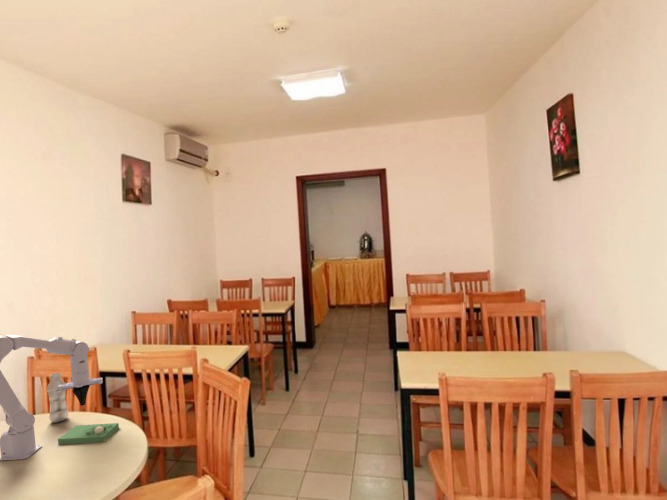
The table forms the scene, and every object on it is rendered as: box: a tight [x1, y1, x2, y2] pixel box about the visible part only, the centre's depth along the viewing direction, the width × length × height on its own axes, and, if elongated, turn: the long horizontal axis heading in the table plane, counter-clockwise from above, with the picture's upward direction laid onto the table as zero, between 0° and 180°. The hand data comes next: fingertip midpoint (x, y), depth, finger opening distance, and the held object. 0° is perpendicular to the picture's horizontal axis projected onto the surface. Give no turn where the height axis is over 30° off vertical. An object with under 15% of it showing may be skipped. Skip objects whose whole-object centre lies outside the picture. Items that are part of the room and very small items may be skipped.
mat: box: [57, 422, 120, 445], centre depth 148 cm, size 17×10×2 cm, turn 90°
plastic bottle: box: [46, 372, 69, 424], centre depth 162 cm, size 6×7×20 cm
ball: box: [94, 426, 104, 434], centre depth 148 cm, size 3×3×3 cm
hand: (83, 404), depth 154 cm, fingers closed
